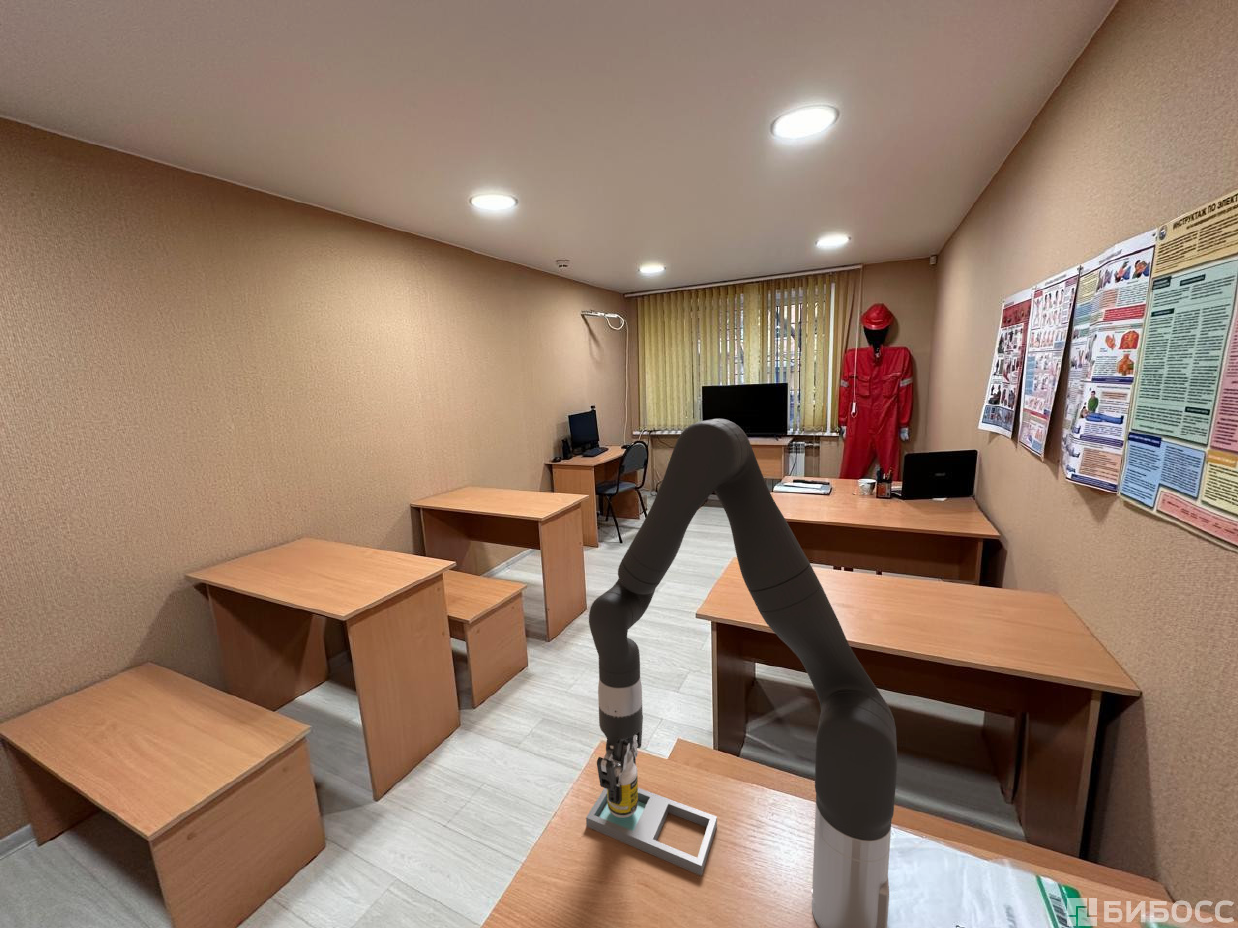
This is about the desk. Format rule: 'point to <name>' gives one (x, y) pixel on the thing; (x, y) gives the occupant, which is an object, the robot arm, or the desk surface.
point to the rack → (653, 827)
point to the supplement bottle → (626, 790)
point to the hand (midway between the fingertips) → (622, 787)
